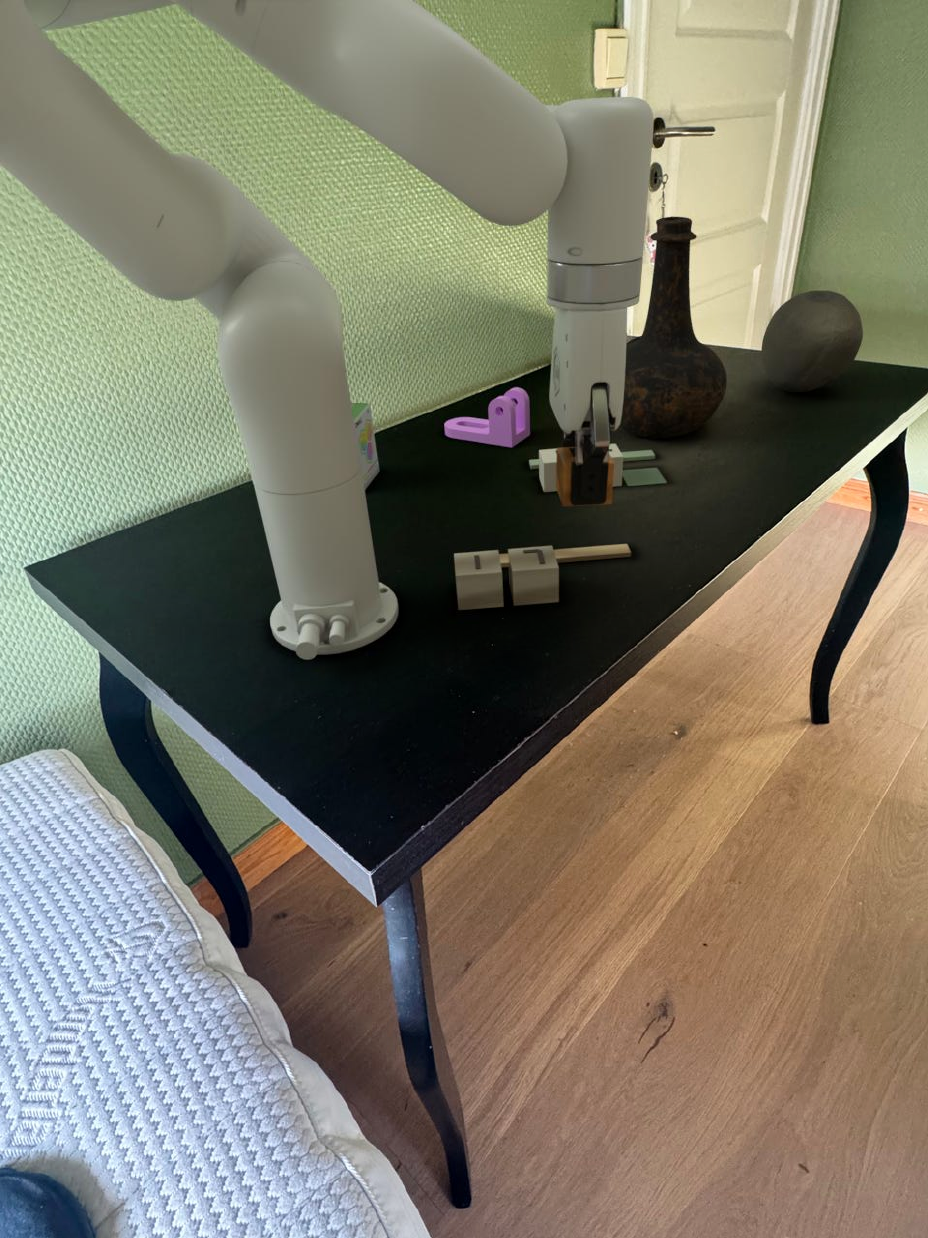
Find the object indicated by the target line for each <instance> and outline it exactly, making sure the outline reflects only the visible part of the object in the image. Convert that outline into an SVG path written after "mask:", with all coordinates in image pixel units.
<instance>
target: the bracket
mask: <svg viewBox="0 0 928 1238" xmlns="http://www.w3.org/2000/svg"><path fill="white" fill-rule="evenodd" d="M515 400H516V401H515ZM516 402H517V403H516ZM501 409H502V410H501ZM530 409H531V407H530V396H529V395H528V393H527V391H526V390H524V389H523V388H521V387H518V386H515V387H512V388H510V389H509V390H507V391H505V393H504V394H503V395H499V396H497V397H496V398H494V399H492V400H491V401H490V402H489V404H488V408H487V410H488V411H487V412H488V413H487V415H488V419H485V418H477V417H470V416H459V417H454V418H451V419H448V420H446V421H445V422H444V426H443V427H444V435H445V436H446V437H448V438H451V439H457V440H461V441H469V442H474V443H475V442H477V443H480V444H482V443H483V444H487V445H494V446H500V447H507V448H514V447H515V446H516V445H518V444H519V443H521V442H522V441H524V440H525V439H526V438H528V437H529V436H530V435H531V419H530V418H531V416H530V413H531V411H530Z"/></svg>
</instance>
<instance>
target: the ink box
mask: <svg viewBox="0 0 928 1238" xmlns="http://www.w3.org/2000/svg"><path fill="white" fill-rule="evenodd" d="M351 406H352V412H353V419H354V425H355V431H356V438H357V443H358V451H359V457H360V463H361V469H362V476H363V482H364V489H365V491H366V490H367V488H368V487H369V486H370V485H371V483H372V482H373V481H374V479H375V477H376V476H377V475H378V474H379V472H380V465H379V457H378V452H377V444H376V443H377V442H376V438H375V436H376V435H375V431H374V423H373V415H372V408H371V404H370V402H369V403H366V402H351Z"/></svg>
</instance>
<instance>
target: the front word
mask: <svg viewBox="0 0 928 1238" xmlns="http://www.w3.org/2000/svg"><path fill="white" fill-rule="evenodd" d="M631 557H632V551H631V549H630V547H629V544H628V543H620V544H619V543H617V544H605V545H593V546H582V547H570V548H569V547H568V548H558V549H554V547H553V545H543V546H530V547H519V548H507V553H500V551H499V549H493V550H482V551H481V550H480V551H470V552H457V553H456V552H455V553H453V560H454V570H455V571H454V573H455V585H456V586H455V587H456V596H457V607H458V609H457V610H458V611H465V610H467V611H468V610H478V609H490V608H503V607H504V605H505V603H504V586H503V585H504V584H503V582H504V581H503V570H502V568H508V578H509V579H508V581H509V588H510V594H511V599H512V604H513V606H526V605H528V606H529V605H539V604H540V605H541V604H552V603H553V604H554V603H559V601H560V566H559V564H560V563H572V562H573V563H574V562H586V561H598V560H608V559H621V558H622V559H623V558H631Z"/></svg>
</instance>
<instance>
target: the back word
mask: <svg viewBox="0 0 928 1238" xmlns="http://www.w3.org/2000/svg"><path fill="white" fill-rule="evenodd" d="M609 455H610V456H611V458H612V460H613V462H614V475H613V488H615V487H622V486H623V481H624V482H625V483H626V486H627V487H637V486H649V485H661V484H663V485H664V484H667V483H668V482H667V480H666V479H665V477H664V476H663V474H662V473H661V471H660V470H659V469H658V467H649V468H647V467H646V468H636V469H625V470H623V468H624V467H623V466H624V462H636V461H637V462H638V461H647V460H655V459H656V454H655V453H654V451H653V450H652V449H645V450H634V451H621V450H620V449H619V446H618V445H617V443H610V446H609ZM556 460H557V448H547V449H539V450H538V458H537V459H535V458H533V459H529V460H528V465H529V468H530V470H538V473H539V474H538V475H539V476H538V477H539V482H540V485H541V487H542V491H543V492H544V493H551V492H552V493H553V492H557V489H556Z"/></svg>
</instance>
